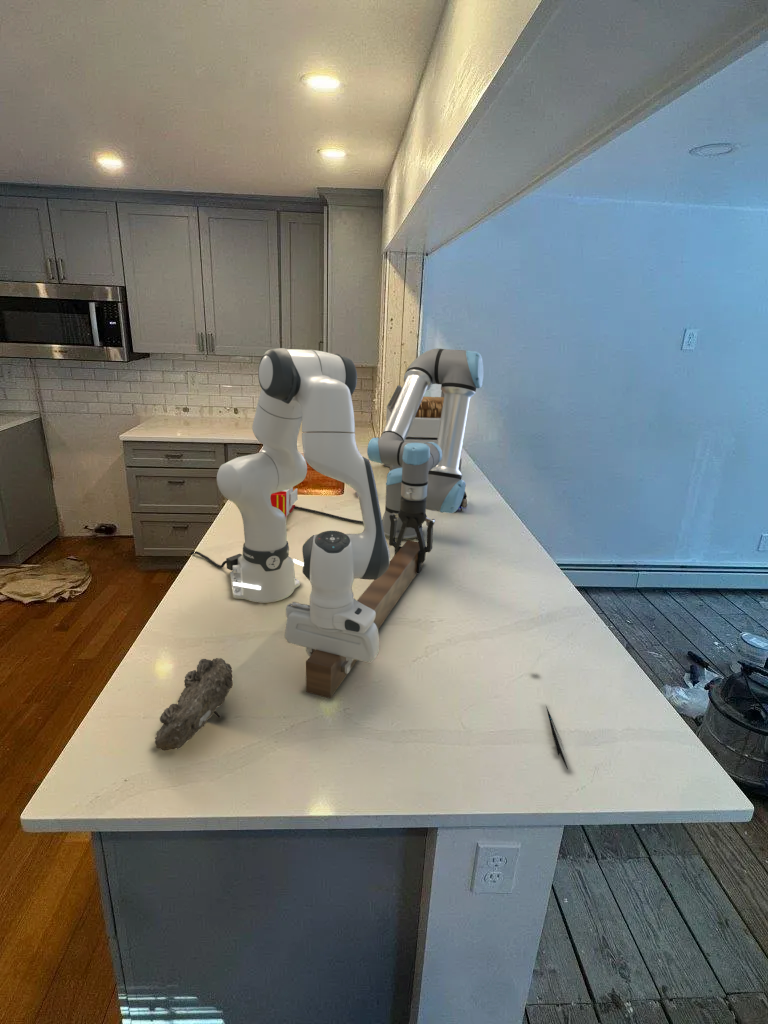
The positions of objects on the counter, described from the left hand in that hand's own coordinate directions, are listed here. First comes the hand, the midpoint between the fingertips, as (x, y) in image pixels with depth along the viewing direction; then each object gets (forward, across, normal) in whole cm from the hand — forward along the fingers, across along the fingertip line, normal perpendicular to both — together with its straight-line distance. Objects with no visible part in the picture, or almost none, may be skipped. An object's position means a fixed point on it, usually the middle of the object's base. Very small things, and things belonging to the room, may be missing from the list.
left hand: (330, 667), depth 120 cm
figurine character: (+3, 0, +122) cm, 122 cm away
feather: (+3, +45, +5) cm, 45 cm away
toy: (+3, -58, +82) cm, 101 cm away
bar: (+3, 0, +29) cm, 29 cm away
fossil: (+3, -18, -20) cm, 27 cm away
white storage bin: (+3, -27, +164) cm, 166 cm away
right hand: (+2, 0, +57) cm, 57 cm away
